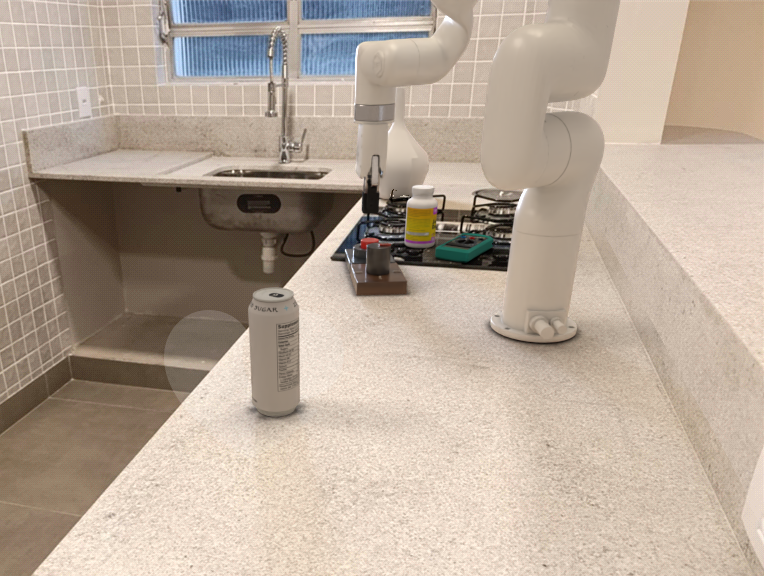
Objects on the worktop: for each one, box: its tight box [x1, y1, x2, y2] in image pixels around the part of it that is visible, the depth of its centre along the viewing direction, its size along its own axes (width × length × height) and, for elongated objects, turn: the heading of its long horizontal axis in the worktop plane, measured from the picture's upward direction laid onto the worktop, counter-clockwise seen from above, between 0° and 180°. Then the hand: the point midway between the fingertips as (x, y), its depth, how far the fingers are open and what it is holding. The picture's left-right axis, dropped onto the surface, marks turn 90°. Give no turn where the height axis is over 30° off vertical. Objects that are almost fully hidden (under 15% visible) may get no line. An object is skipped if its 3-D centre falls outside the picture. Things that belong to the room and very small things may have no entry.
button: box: [360, 237, 380, 249], centre depth 141 cm, size 4×4×2 cm
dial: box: [366, 242, 392, 275], centre depth 129 cm, size 4×4×5 cm
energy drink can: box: [247, 286, 301, 418], centre depth 84 cm, size 6×6×15 cm
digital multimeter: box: [434, 232, 494, 264], centre depth 148 cm, size 7×15×3 cm, turn 142°
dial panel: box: [349, 262, 408, 297], centre depth 130 cm, size 12×9×3 cm
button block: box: [344, 242, 397, 275], centre depth 142 cm, size 11×9×4 cm
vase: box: [379, 87, 430, 201], centre depth 200 cm, size 18×18×30 cm
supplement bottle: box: [403, 184, 438, 249], centre depth 153 cm, size 7×7×13 cm
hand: (369, 212), depth 138 cm, fingers closed
